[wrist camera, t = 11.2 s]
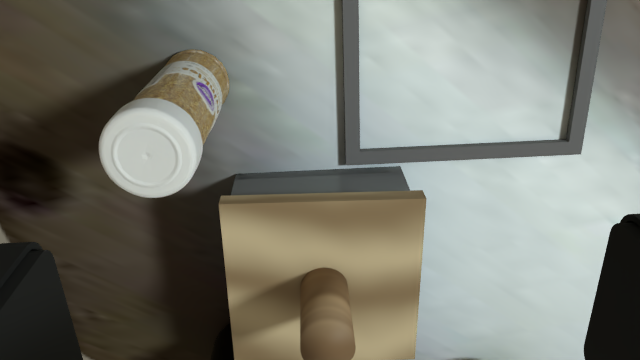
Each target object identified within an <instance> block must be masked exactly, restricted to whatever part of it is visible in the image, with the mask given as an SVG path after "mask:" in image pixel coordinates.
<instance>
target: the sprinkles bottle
mask: <svg viewBox="0 0 640 360" xmlns="http://www.w3.org/2000/svg"><path fill="white" fill-rule="evenodd" d="M228 93H229V79H228V74H227V72H226V69H225V67H224V66H223V64H222V63H221V62H220V61H219V60H218V59H217V58H216V57H214V56H213V55H211V54H209V53H207V52H204V51H202V50H185V51H182V52H180V53H178V54H176V55H174V56H172V58H171V59H170V60H169V61H168V62H167V63H166V65H165V67H164V68H162V69H161V70H160V71H159V72H158V73H157V74H156V76H155V77H154V78H153V79H152V80H151V81H150V82H149V83H148V84H147V85H146V86H145V87H144V88H143V89H142V90H141V91H140V92H139V94H138V95H137V96H136V97H135V99H134V100H133V101H131V102H129V103H128V104H126V105H124V106H123V107H121V108H120V109H119V110H118V111H117V112H116V113H115V114H114V115H113V117H112V118H111V119H110V120H109V121H108V122H107V124H106V125H105V127H104V128H103V130H102V133H101V136H100V140H99V156H100V160H101V163H102V166H103V168H104V170H105V171H106V173H107V174H108V176H109V177H110V178H111V179H112V180H113V181H114V182H115V183H116V184H117V185H118V186H119V187H121V188H122V189H124V190H125V191H127V192H129V193H132V194H134V195H137V196H141V197H147V198H159V197H165V196H168V195H171V194H173V193H175V192H177V191H179V190H180V189H182V188H183V187H184V186H185V185H186V184H187V183H188V182H189V181H190V179H191V178H192V176H193V174H194V173H195V171H196V169H197V167H198V165H199V162H200V159H201V156H202V150H203V144H204V142H205V140H206V138H207V136H208V134H209V133H210V131H211V129H212V128H213V125H214V123H215V121H216V119H217V117H218V115H219V112H220V110H221V106H222V104H223V103H224V102H225V99H226V97H227V95H228Z"/></svg>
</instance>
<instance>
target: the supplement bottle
mask: <svg viewBox="0 0 640 360" xmlns="http://www.w3.org/2000/svg"><path fill="white" fill-rule="evenodd" d="M211 360H234V351H233V341H232V331H231V323H230V324H229V325H227V326H226V327H225V328H224V329H222V331H221V332H220V333H219V335H218V336H217V338H216V340H215V343H214V347H213V352H212V356H211Z"/></svg>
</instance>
